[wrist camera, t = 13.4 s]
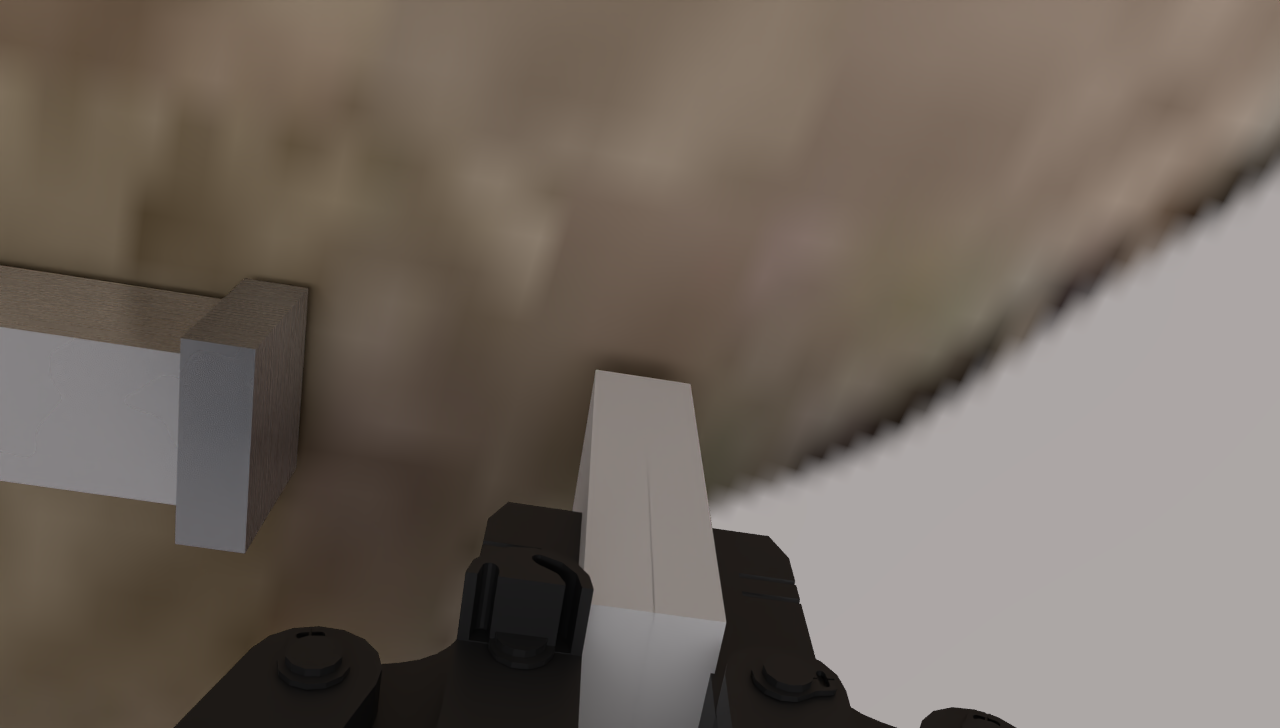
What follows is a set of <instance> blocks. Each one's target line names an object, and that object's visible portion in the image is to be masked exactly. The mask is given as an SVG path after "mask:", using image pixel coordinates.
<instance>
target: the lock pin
mask: <svg viewBox="0 0 1280 728" xmlns="http://www.w3.org/2000/svg"><path fill="white" fill-rule="evenodd" d="M308 289H309V288H304V287H297V286H291V285H284V284H278V283H271V282H265V281H258V280H252V279H244V280H242V281H241V282H240V283H239V284H238V285H237V286H236V287H235V288H234V289H233V290H232V291H231V292H230V293H229V294H227V295H226V296H225V297H224V298H223V299H219V298H212V297H206V296H199V295H193V294H186V293H179V292H173V291H166V290H160V289H153V288H147V287H140V286H133V285H127V284H120V283H114V282H107V281H101V280H94V279H88V278H81V277H74V276H68V275H61V274H55V273H48V272H42V271H35V270H28V269H22V268H15V267H9V266H2V265H0V481H6V482H13V483H20V484H28V485H35V486H42V487H49V488H56V489H64V490H71V491H78V492H85V493H92V494H100V495H107V496H114V497H121V498H128V499H136V500H143V501H150V502H157V503H164V504H172V505H176V525H175V544H180V545H187V546H194V547H202V548H209V549H216V550H224V551H231V552H238V553H245V552H246V551H247V549H248V547H249V546H250V544H251V542H252V541H253V539H254V537H255V536H256V534H257V532H258V531H259V529H260V527H261V526H262V524H263V523H264V521H265V519H266V518H267V516H268V514H269V513H270V511H271V509H272V508H273V506H274V504H275V503H276V501H277V499H278V498H279V496H280V494H281V493H282V491H283V489H284V488H285V486H286V484H287V483H288V481H289V479H290V478H291V476H292V474H293V473H294V471H295V469H296V464H297V449H298V435H299V420H300V406H301V391H302V377H303V362H304V347H305V333H306V318H307V304H308Z"/></svg>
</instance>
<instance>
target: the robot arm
mask: <svg viewBox="0 0 1280 728" xmlns="http://www.w3.org/2000/svg"><path fill="white" fill-rule="evenodd" d="M794 584H795V579H794V576H793V572H792V568H791V565H790V561H789V558H788V557H787V556H786V555H785V554H784V553H783V551H782V550H781V549H780V548H779V547H778V546H777V545H776V544H775V543H774V542H773V541H772V539H771V538H770V537H769V536H762V535H756V534H748V533H742V532H735V531H727V530H721V529H714V528H712V524H711V517H710V511H709V504H708V497H707V491H706V484H705V477H704V471H703V464H702V458H701V451H700V444H699V438H698V431H697V424H696V418H695V411H694V404H693V398H692V391H691V385H690V384H688V383H681V382H675V381H668V380H662V379H655V378H648V377H642V376H635V375H629V374H622V373H615V372H609V371H602V370H596V371H595V377H594V383H593V389H592V395H591V401H590V407H589V413H588V419H587V425H586V431H585V437H584V444H583V450H582V456H581V462H580V468H579V474H578V480H577V486H576V492H575V498H574V504H573V510H572V511H568V510H560V509H553V508H546V507H539V506H532V505H525V504H518V503H511V502H508V503H506V504H505V505H504V506H503V507H502V508H501V509H499V510H498V511H497V512H496V513H495V514H493V515H492V516H491V517H490V518H489V519H488V522H487V527H486V531H485V536H484V540H483V545H482V549H481V553H480V557H478V558H476V559H474V560H473V561H472V563H471V565H470V566H469V568H468V569H467V571H466V574H465V581H464V589H463V597H462V604H461V612H460V619H459V627H458V635H457V640H456V641H455V642H454V643H453V644H452V645H451V646H449V647H448V648H446V649H444V650H443V651H441V652H439V653H438V654H435V655H432V656H429V657H426V658H423V659H421V660H415V661H409V662H403V663H392V664H381V662H380V658H379V654H378V652H377V651H376V650H375V649H374V648H373V647H372V646H371V645H370V644H369V643H368V642H367V641H366V640H365V639H363V638H360V637H358V636H356V635H354V634H351V633H349V632H347V631H345V630H339V629H333V628H326V627H320V626H318V627H304V628H292V629H289V630H286V631H283V632H280V633H277V634H273V635H270V636H268V637H267V638H266V639H264V640H263V641H261V642H260V643H258V644H257V645H255V646H254V647H252V648H251V649H250V650H249V651H248V652H247V653H246V654H245V655H244V656H243V657H242V658H241V659H240V660H239V661H238V663H237V664H236V665H235V666H234V667H233V668H232V669H231V670H230V671H229V672H228V673H227V674H226V675H225V676H224V677H223V678H222V679H221V680H220V681H219V682H218V683H217V684H216V685H215V686H214V687H213V688H212V689H211V690H210V691H209V692H208V693H207V694H206V695H205V696H204V697H203V698H202V699H201V700H200V701H199V702H198V703H197V704H196V705H195V706H194V707H193V708H192V709H191V710H190V711H189V712H188V713H187V715H186V716H185V717H184V718H183V719H182V720H181V721H180V722H179V723H178V724H177V725H176V726H175V727H174V728H896V727H893V726H890V725H888V724H885V723H882V722H879V721H877V720H875V719H872V718H870V717H867V716H865V715H863V714H861V713H860V712H858V711H856V710H855V709H853V708H851V706H850V703H849V700H848V696H847V693H846V690H845V688H844V686H843V685H842V683H841V681H840V679H839V678H838V676H837V675H836V674H835V673H834V672H833V671H832V670H830V669H829V668H828V667H827V666H826V665H824V664H823V663H822V662H821V661H819V660H816V659H815V655H814V651H813V647H812V644H811V640H810V636H809V632H808V628H807V625H806V621H805V617H804V613H803V610H802V606H801V604H799V601H800V598H799V594H798V591H797V587H796V585H794ZM920 728H1016V727H1014V726H1012V725H1011V724H1009V723H1007V722H1005V721H1004V720H1002V719H1000V718H998V717H996V716H993V715H991V714H986V713H985V712H981V711H977V710H972V709H963V708H954V707H951V708H946V709H941V710H937V711H933V712H932V713H931V714H930V715H928V716H927V717H926V718H925V719H924V720H922V723H921V726H920Z"/></svg>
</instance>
